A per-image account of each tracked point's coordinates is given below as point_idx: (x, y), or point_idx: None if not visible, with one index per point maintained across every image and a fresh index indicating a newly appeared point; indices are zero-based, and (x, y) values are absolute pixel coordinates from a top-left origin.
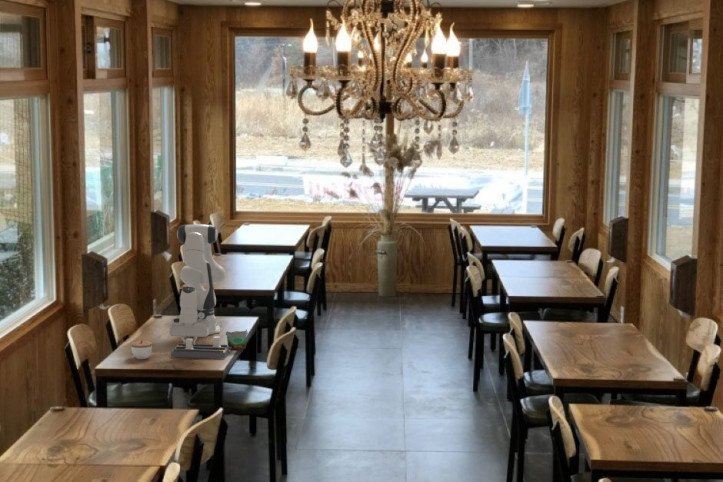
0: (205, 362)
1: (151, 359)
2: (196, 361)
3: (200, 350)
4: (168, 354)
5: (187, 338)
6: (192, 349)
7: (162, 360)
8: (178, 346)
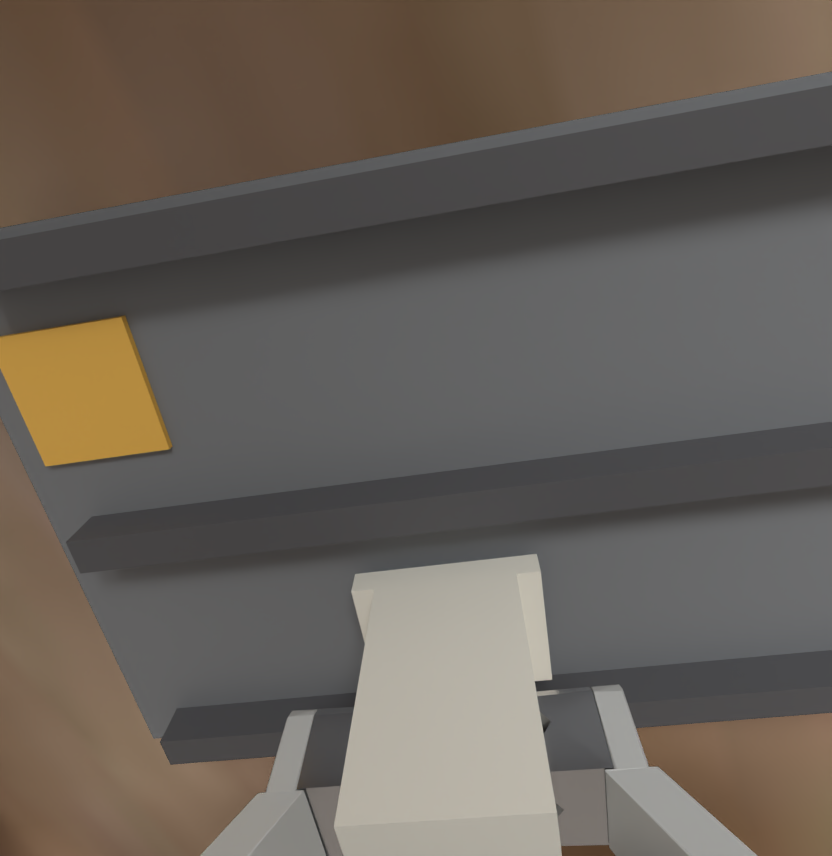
0: (823, 797)
1: (11, 799)
2: (672, 779)
3: (758, 712)
4: (54, 536)
5: (354, 827)
6: (551, 677)
7: (176, 812)
8: (126, 551)
